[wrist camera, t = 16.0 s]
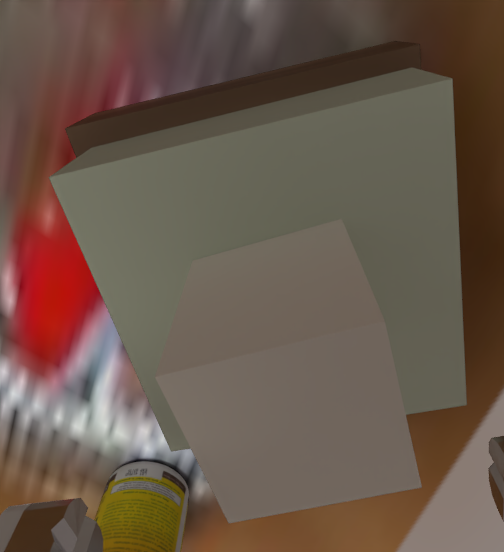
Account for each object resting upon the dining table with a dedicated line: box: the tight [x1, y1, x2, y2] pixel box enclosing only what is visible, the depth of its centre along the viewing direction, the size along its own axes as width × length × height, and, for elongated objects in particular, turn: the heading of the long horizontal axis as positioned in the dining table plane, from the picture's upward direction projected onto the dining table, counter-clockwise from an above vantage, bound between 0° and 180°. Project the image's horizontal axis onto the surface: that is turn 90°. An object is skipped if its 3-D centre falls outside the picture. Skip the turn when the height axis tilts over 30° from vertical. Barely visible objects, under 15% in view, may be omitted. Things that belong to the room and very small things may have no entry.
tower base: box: [65, 41, 421, 158], centre depth 22 cm, size 13×13×4 cm
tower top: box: [49, 68, 467, 451], centre depth 18 cm, size 12×12×4 cm
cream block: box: [155, 219, 422, 523], centre depth 14 cm, size 5×5×6 cm
